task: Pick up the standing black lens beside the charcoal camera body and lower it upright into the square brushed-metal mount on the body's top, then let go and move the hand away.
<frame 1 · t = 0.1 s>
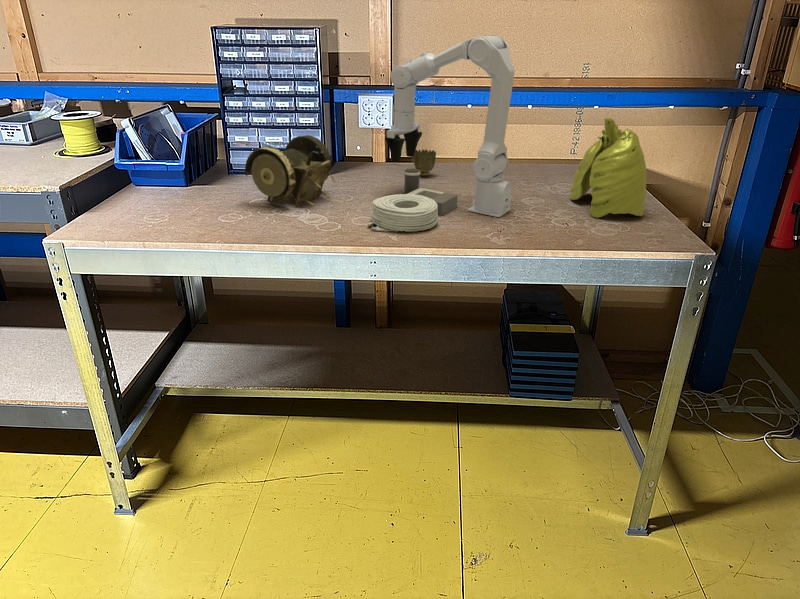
hand: (403, 159, 170), 10 cm above the workbench, tool pointing down, fingers open, 7 cm apart
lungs: (603, 207, 166), on the workbench
cup: (423, 176, 191), on the workbench
cable: (404, 223, 152), on the workbench
camera body: (430, 207, 162), on the workbench
lens: (411, 193, 174), on the workbench
bench grinder: (299, 200, 166), on the workbench
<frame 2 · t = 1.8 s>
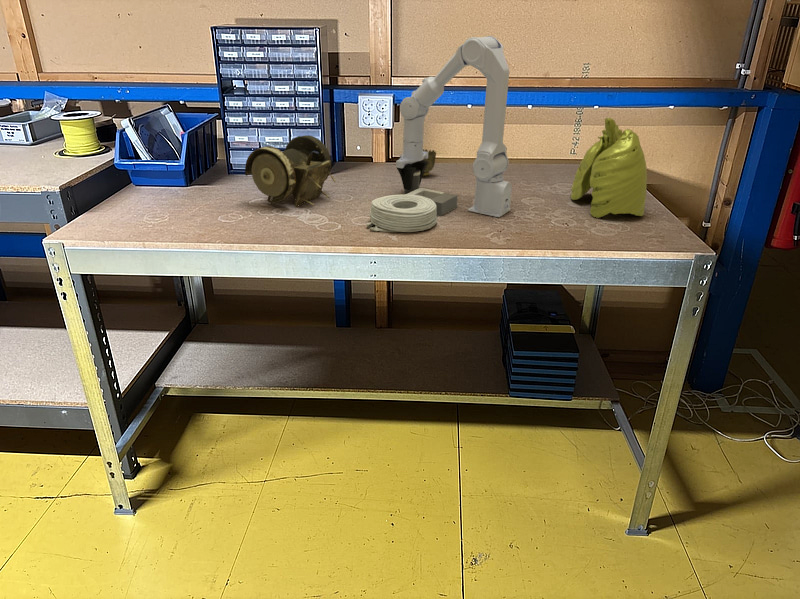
hand: (411, 187, 173), 2 cm above the workbench, tool pointing down, fingers closed on lens, 4 cm apart
lens: (411, 193, 174), on the workbench, touching gripper
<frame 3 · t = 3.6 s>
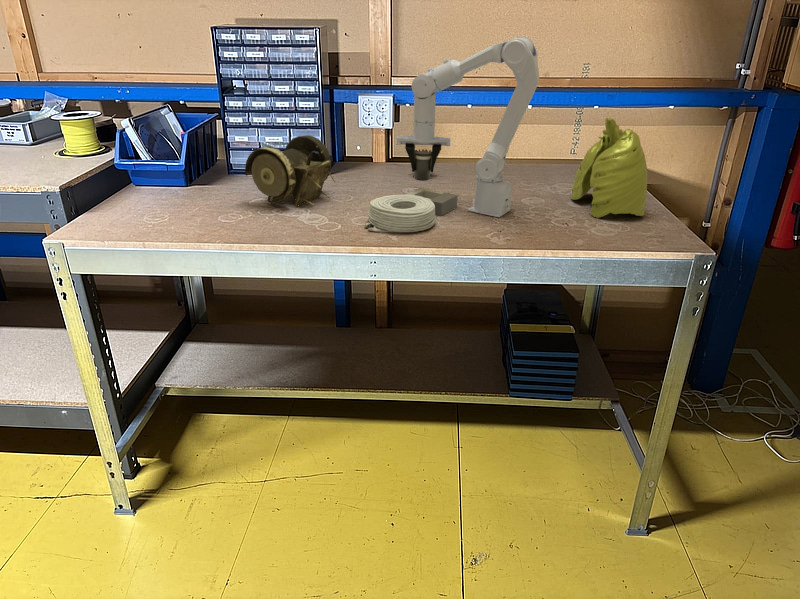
hand: (422, 171, 163), 9 cm above the workbench, tool pointing down, fingers closed on lens, 4 cm apart
lens: (422, 178, 164), point 7 cm above the workbench, touching gripper
when the fingers open (4 cm above the workbench, at t = 5.5 s): lens drops 1 cm, resting on camera body.
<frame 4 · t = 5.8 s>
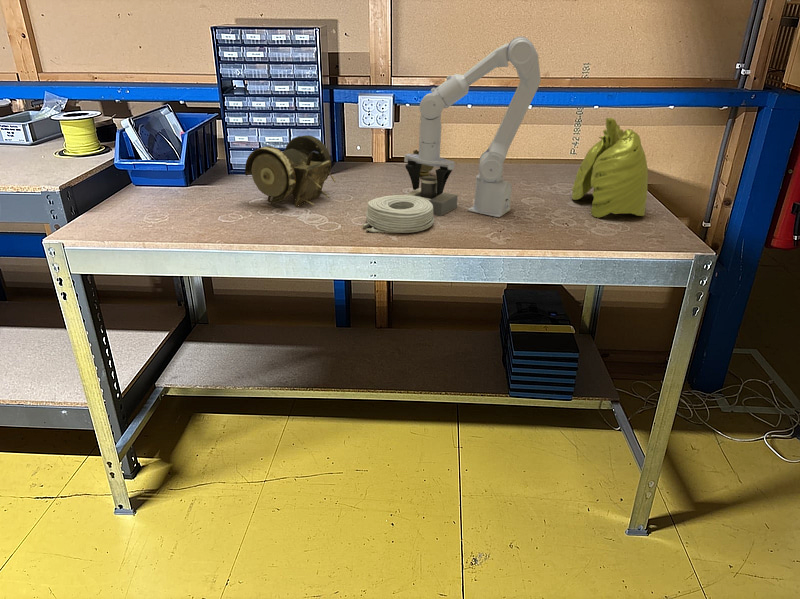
hand: (427, 191, 161), 4 cm above the workbench, tool pointing down, fingers open, 7 cm apart
lens: (428, 202, 163), point 1 cm above the workbench, touching camera body
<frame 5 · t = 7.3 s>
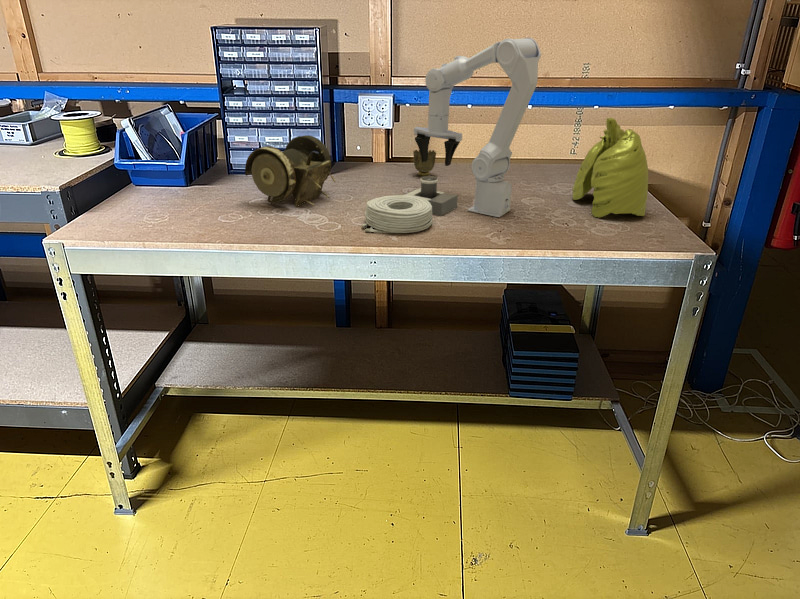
hand: (436, 163, 168), 9 cm above the workbench, tool pointing down, fingers open, 7 cm apart
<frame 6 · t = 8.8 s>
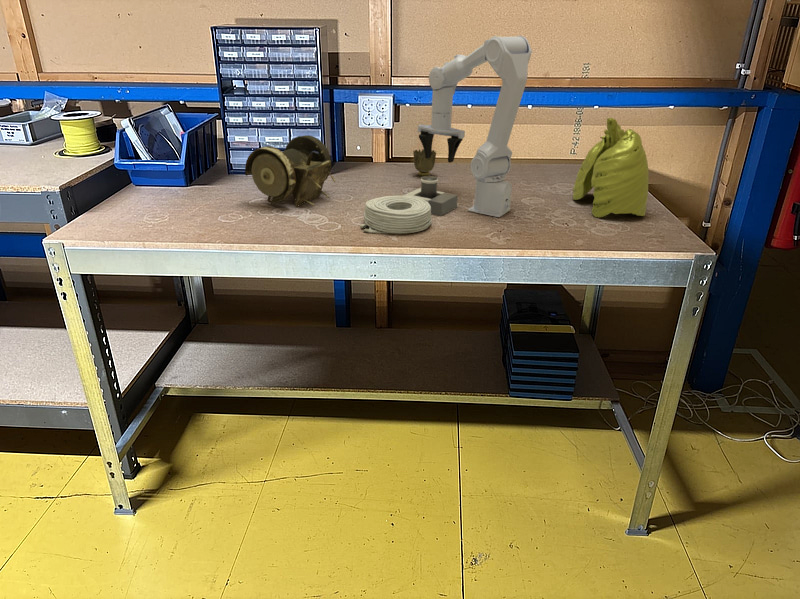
hand: (439, 159, 172), 9 cm above the workbench, tool pointing down, fingers open, 7 cm apart
at the end: lens 0.7 cm from the target spot on the camera body, point 1.0 cm above the camera body's base; lens tilted 1°; the gripper is holding nothing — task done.
